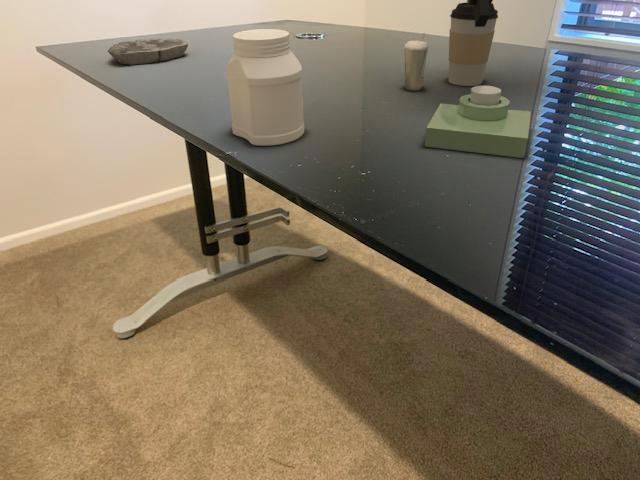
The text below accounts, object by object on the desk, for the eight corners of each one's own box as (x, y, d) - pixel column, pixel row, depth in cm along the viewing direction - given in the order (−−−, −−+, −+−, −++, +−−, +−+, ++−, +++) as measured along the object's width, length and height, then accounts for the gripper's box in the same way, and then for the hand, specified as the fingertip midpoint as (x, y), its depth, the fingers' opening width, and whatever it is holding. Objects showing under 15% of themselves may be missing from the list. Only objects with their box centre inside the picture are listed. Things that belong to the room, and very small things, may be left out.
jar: (313, 135, 80) (311, 35, 72) (262, 150, 75) (253, 44, 67) (274, 117, 88) (267, 25, 80) (225, 130, 83) (213, 32, 75)
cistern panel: (527, 128, 81) (533, 97, 78) (524, 158, 71) (531, 124, 68) (439, 119, 85) (442, 90, 82) (424, 146, 75) (427, 113, 72)
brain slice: (169, 46, 140) (167, 35, 139) (197, 56, 129) (195, 44, 127) (98, 58, 130) (95, 45, 129) (121, 69, 119) (118, 56, 117)
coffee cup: (434, 81, 105) (442, 2, 97) (459, 73, 110) (469, -3, 102) (471, 90, 99) (482, 6, 91) (496, 81, 104) (509, 1, 96)
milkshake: (430, 86, 102) (435, 34, 96) (418, 93, 98) (423, 38, 93) (409, 83, 104) (413, 31, 99) (397, 89, 100) (401, 36, 95)
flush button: (500, 100, 78) (502, 86, 77) (497, 108, 75) (500, 94, 74) (471, 97, 80) (473, 84, 79) (467, 105, 76) (469, 92, 75)
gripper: (505, -87, 86) (516, 35, 81) (428, -85, 87) (435, 36, 81) (520, -128, 79) (534, 4, 74) (437, -126, 79) (445, 5, 74)
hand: (482, 21), depth 78 cm, fingers closed
